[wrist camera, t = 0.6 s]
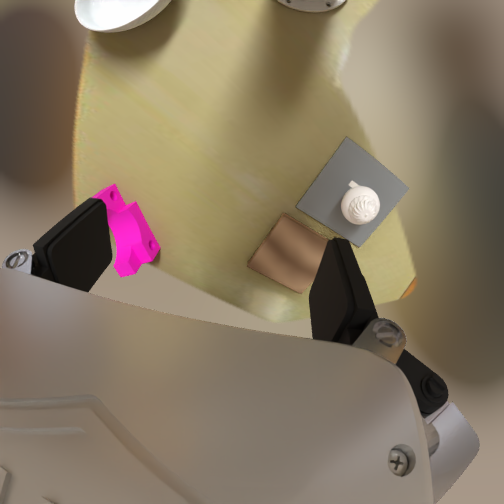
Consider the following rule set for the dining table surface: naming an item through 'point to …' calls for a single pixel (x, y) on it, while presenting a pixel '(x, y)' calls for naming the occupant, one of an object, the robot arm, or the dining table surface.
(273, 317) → the dining table surface
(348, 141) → the tile
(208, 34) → the dining table surface
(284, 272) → the walnut pad
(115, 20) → the cereal bowl
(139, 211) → the magenta cradle bracket
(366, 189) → the muffin
